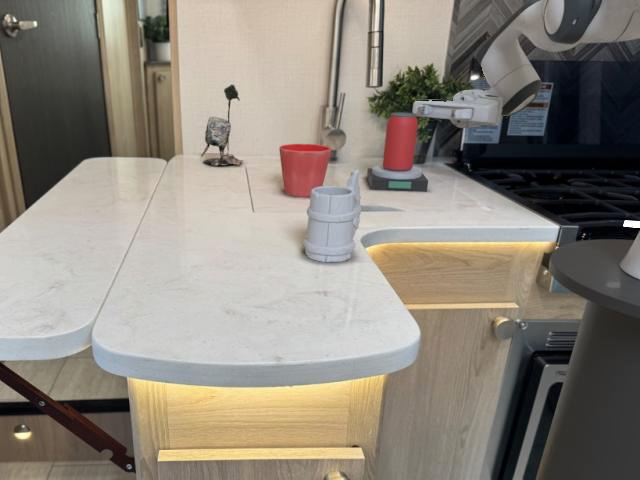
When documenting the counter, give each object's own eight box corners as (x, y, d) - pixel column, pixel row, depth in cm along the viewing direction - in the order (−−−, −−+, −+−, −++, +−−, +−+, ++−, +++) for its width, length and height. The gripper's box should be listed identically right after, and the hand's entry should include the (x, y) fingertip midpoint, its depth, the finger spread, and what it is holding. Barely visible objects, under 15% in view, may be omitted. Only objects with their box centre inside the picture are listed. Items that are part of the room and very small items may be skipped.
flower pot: (309, 185, 128) (311, 141, 123) (337, 195, 119) (341, 149, 115) (269, 190, 123) (270, 144, 119) (295, 201, 114) (297, 153, 110)
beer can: (376, 168, 127) (382, 113, 122) (393, 165, 131) (399, 111, 126) (401, 173, 123) (408, 116, 118) (417, 169, 127) (425, 114, 122)
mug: (293, 255, 85) (296, 176, 80) (335, 237, 93) (340, 164, 88) (335, 267, 80) (342, 184, 75) (376, 247, 88) (384, 171, 83)
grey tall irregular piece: (208, 160, 155) (207, 83, 146) (247, 163, 151) (248, 84, 143) (197, 165, 148) (194, 85, 139) (237, 168, 144) (237, 86, 136)
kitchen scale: (417, 179, 133) (419, 164, 132) (427, 191, 122) (429, 175, 120) (366, 178, 135) (368, 163, 133) (371, 190, 123) (372, 174, 122)
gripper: (432, 92, 143) (399, 95, 135) (510, 97, 129) (478, 100, 121) (429, 118, 146) (396, 122, 138) (504, 126, 131) (473, 131, 123)
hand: (435, 112), depth 129 cm, fingers open, 8 cm apart
